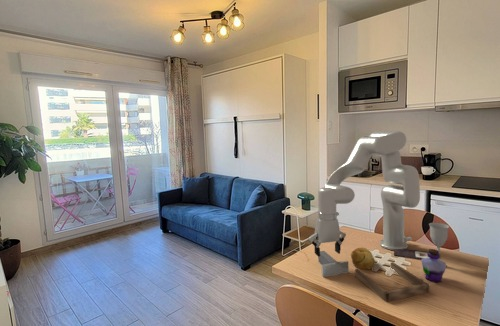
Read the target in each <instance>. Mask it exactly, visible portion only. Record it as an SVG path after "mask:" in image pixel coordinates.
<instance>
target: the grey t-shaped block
mask: <svg viewBox="0 0 500 326" xmlns="http://www.w3.org/2000/svg"><path fill="white" fill-rule="evenodd" d="M317 257H318V256H317ZM318 263H319V264H320V266H321V277H322V278H327V277H330V276H331V277H332V276H337V275H342V274H346V273H350V272H349V270H350V269H349V261H348V260H341V261H337V260H336V259H335V258H333V256H331V255H330V254H329V253H328V252H326V251H325V250H320V256H319V257H318Z"/></svg>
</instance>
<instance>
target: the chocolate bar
mask: <svg viewBox="0 0 500 326" xmlns="http://www.w3.org/2000/svg"><path fill="white" fill-rule="evenodd" d="M427 252H428V251H423V250H416V249H409V248H407V249H404V250H393V256H394V257H397V258H398V257H399V258H405V259H413V260H420V261H422V260H421V259H423V258H429V257H428V256H427Z"/></svg>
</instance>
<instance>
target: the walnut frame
mask: <svg viewBox="0 0 500 326" xmlns="http://www.w3.org/2000/svg"><path fill="white" fill-rule="evenodd" d="M391 268H392V269H394V270H395V271H396V272H397V273H398V274H397V273H396V274H397V275H399V277H401V278H403V279H405V280H406V281H407V282H409V283H411V284H412V285H410V286H405V287H400V288H395V289H391V290H385V289H384V288H383V287H382V286H380V285H379V284H378V283H377V282H375V281H374V280H373V279H371V278H370V277H369V276H367V275H366V274H365V273H364V272H363V271H361V269H360V268H355V269H354V277H355V278H356V279H358V280H359V281H360V282H361V283H363V284H364V286H366V287H368V288H369V289H370V290H371V291H372V292H374V293H375V294H376V295H377V296H379V298H381V299H382V301H384V302H386V303H387V302H391V301H394V300H401V299H405V298H409V297H412V296H418V295H423V294H427V293H430V284H429V283H427V282H426V281H424V280H423V279H422V278H420V277H418V276H416V275H414V274H413V273H411V272H409V271H408V270H406V269H405V268H403V267H402V266H400V265H398V264H396V263H395V262H390V269H391Z"/></svg>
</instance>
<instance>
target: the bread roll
mask: <svg viewBox="0 0 500 326" xmlns="http://www.w3.org/2000/svg"><path fill="white" fill-rule="evenodd" d="M350 256H351V260H352V261H351V262H352V264H353V266H354V267H356V269H359V270H370V269H372V268H373V267H374V266H375V263H376V261H375V258H374V257H375V256H373V253H372V252H371V250H369V249H367V248H366V247H357V248H355V249H354V250H352V251H351V253H350Z"/></svg>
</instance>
